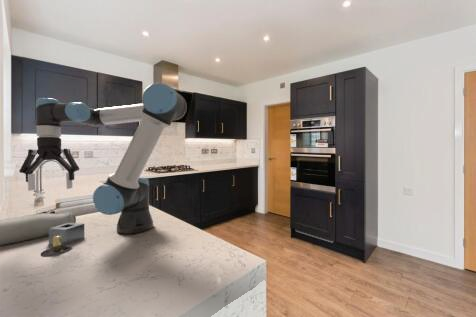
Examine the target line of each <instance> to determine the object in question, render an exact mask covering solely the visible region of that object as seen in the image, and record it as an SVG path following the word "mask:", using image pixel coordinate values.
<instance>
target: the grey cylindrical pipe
mask: <svg viewBox="0 0 476 317" xmlns="http://www.w3.org/2000/svg"><path fill="white" fill-rule="evenodd" d="M65 223H77V217H76V214H75V213H74V212H73V211H65V212H61V213H58V214H56V213H55V214H51V213H50V212H47V213H43V212H41V213H34V214H29V215H22V216H17V217H9V218H3V219H0V246H6V245H11V244H15V242H16V243H20V241H21V242H26V241H30V239H31V240H35V239H40V238H43V237H47V236H49V228H52V227H55V226H58V225H62V224H65ZM25 240H26V241H25ZM10 243H11V244H10ZM5 244H6V245H5Z"/></svg>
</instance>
